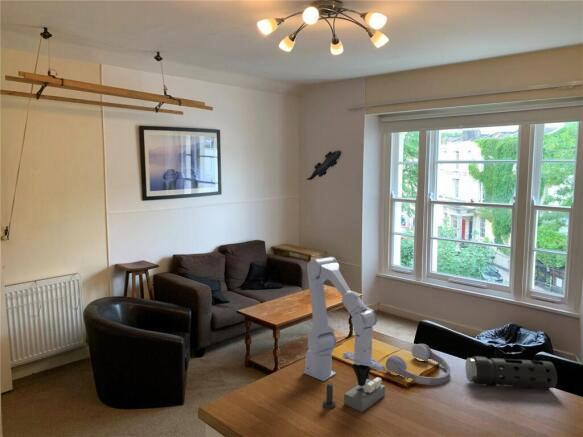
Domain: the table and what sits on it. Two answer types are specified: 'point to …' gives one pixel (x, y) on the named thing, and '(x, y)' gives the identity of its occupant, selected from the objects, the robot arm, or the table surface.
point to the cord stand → (329, 397)
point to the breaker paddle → (370, 386)
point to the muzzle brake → (511, 372)
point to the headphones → (423, 353)
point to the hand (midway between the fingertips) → (361, 384)
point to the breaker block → (364, 395)
